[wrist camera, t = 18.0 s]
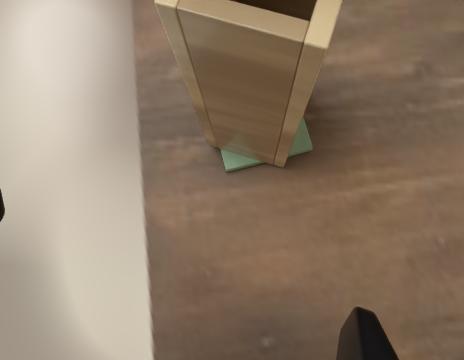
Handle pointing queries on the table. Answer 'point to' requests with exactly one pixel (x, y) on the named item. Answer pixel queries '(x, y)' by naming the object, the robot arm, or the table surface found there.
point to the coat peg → (240, 161)
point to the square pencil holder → (250, 67)
